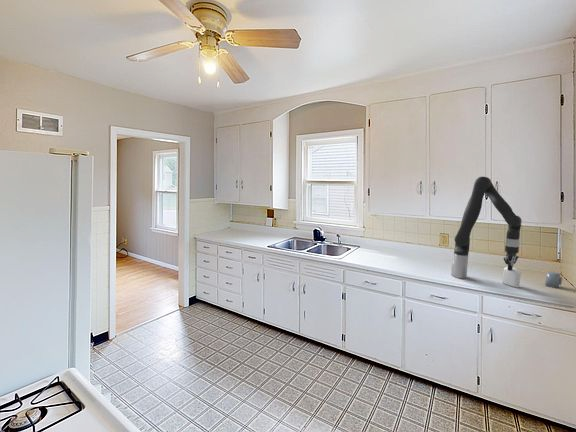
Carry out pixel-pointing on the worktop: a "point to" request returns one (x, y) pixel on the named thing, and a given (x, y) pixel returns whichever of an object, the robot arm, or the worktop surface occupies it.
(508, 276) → the photo printer
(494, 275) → the worktop surface
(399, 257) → the worktop surface
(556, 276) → the grey rounded cylinder
